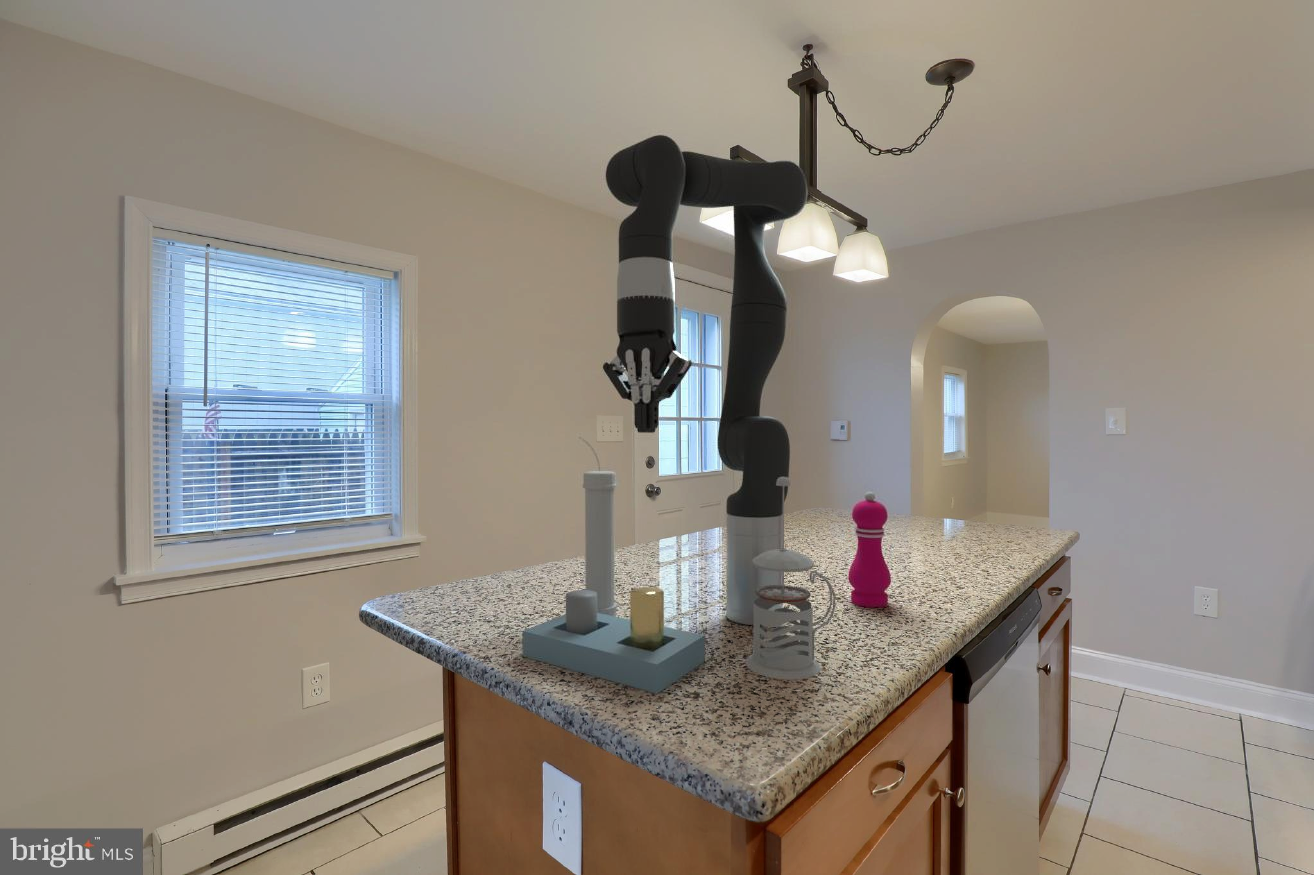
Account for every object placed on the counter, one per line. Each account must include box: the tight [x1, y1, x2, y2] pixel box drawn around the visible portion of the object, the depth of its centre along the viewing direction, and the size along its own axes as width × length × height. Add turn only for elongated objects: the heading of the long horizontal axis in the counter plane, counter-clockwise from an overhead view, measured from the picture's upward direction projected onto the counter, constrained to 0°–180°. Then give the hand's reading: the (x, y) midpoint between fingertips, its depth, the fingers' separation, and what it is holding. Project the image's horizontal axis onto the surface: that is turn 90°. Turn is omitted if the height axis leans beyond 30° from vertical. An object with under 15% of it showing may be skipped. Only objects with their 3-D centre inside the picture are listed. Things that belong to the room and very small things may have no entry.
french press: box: [745, 477, 836, 681], centre depth 81 cm, size 10×12×25 cm
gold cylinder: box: [629, 586, 665, 652], centre depth 80 cm, size 4×4×10 cm
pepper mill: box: [847, 491, 892, 608], centre depth 109 cm, size 7×7×20 cm
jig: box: [522, 589, 706, 695], centre depth 83 cm, size 12×22×8 cm, turn 57°
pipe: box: [578, 436, 618, 617], centre depth 99 cm, size 6×6×30 cm
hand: (646, 432), depth 79 cm, fingers closed
